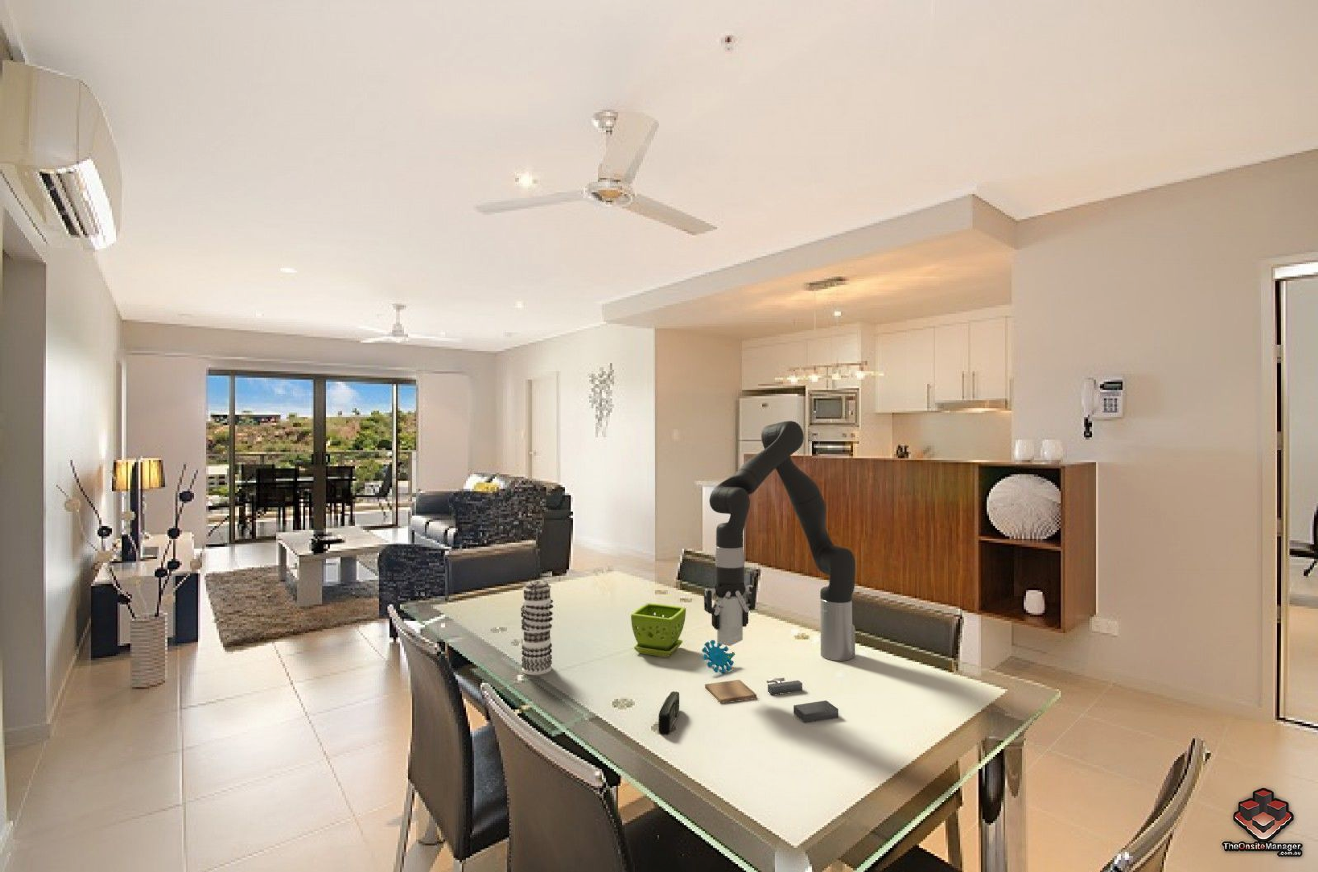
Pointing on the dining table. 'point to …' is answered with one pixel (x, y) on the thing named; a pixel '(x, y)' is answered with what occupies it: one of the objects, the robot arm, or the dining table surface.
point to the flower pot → (658, 628)
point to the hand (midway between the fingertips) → (730, 627)
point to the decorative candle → (536, 628)
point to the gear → (718, 656)
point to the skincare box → (730, 622)
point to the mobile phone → (668, 713)
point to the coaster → (730, 691)
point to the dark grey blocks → (804, 711)
